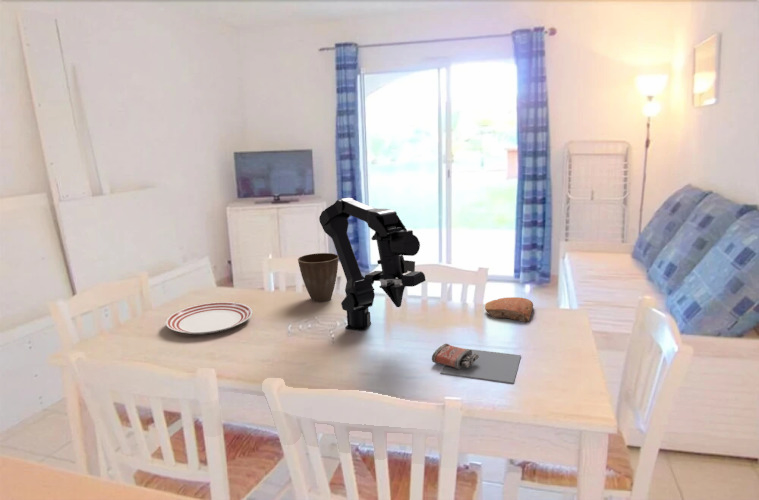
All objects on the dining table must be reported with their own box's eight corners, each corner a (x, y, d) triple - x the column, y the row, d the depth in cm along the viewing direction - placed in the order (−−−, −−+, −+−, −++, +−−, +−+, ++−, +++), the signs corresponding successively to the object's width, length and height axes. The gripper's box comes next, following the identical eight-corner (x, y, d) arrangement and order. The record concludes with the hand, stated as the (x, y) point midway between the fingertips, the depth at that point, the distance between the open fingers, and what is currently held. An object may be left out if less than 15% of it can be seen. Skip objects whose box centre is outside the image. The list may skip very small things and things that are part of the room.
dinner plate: (269, 320, 171) (268, 310, 170) (195, 348, 151) (194, 337, 150) (223, 305, 188) (222, 296, 188) (151, 328, 168) (149, 318, 167)
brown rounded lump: (491, 289, 177) (535, 299, 172) (487, 307, 178) (531, 317, 173) (483, 297, 163) (531, 307, 158) (480, 316, 164) (527, 327, 159)
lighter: (432, 365, 133) (466, 374, 127) (431, 353, 132) (466, 362, 126) (447, 352, 139) (481, 360, 133) (447, 340, 138) (480, 349, 132)
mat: (440, 373, 128) (440, 372, 128) (454, 348, 142) (454, 347, 142) (513, 383, 121) (513, 382, 121) (520, 356, 136) (520, 355, 136)
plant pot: (293, 303, 186) (290, 261, 183) (312, 291, 200) (309, 252, 196) (330, 306, 181) (327, 263, 178) (347, 294, 195) (344, 253, 191)
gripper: (432, 246, 144) (440, 299, 146) (383, 248, 156) (391, 296, 159) (408, 257, 136) (418, 312, 138) (358, 257, 148) (368, 308, 151)
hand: (398, 306), depth 147 cm, fingers closed
